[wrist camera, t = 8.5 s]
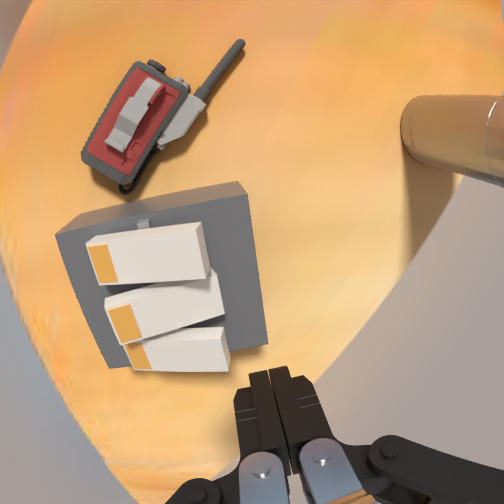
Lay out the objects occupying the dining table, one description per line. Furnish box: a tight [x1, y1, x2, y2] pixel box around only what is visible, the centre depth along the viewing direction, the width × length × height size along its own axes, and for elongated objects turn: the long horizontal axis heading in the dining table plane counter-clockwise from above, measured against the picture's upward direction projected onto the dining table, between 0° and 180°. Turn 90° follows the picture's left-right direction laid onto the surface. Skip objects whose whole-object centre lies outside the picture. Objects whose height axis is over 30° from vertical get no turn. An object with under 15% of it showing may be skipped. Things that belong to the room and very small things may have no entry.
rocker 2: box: [123, 327, 231, 372], centre depth 29 cm, size 10×4×2 cm, turn 98°
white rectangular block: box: [85, 222, 210, 285], centre depth 25 cm, size 10×4×2 cm, turn 98°
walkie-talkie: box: [81, 39, 245, 195], centre depth 27 cm, size 9×4×20 cm
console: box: [55, 181, 268, 369], centre depth 32 cm, size 18×16×8 cm
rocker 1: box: [104, 267, 225, 346], centre depth 27 cm, size 10×4×2 cm, turn 98°
